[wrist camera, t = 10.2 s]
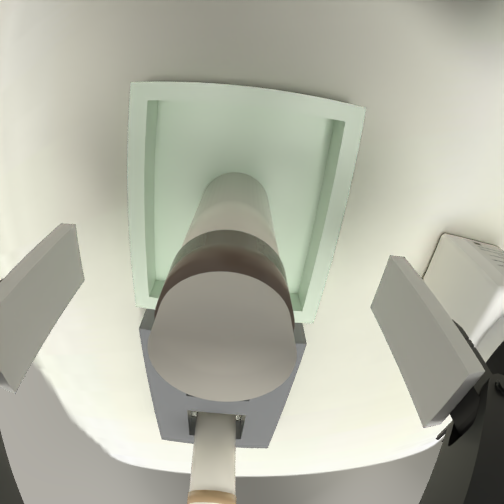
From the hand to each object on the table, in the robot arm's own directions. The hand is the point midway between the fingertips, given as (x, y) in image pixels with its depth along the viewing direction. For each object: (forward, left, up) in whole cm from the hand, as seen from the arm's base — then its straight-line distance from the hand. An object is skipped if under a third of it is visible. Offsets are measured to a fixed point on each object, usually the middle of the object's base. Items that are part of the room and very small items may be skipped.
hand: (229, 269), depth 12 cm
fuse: (+22, 0, -8) cm, 23 cm away
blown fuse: (0, 0, -7) cm, 7 cm away
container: (+4, +19, -8) cm, 21 cm away
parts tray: (0, 0, -8) cm, 8 cm away
